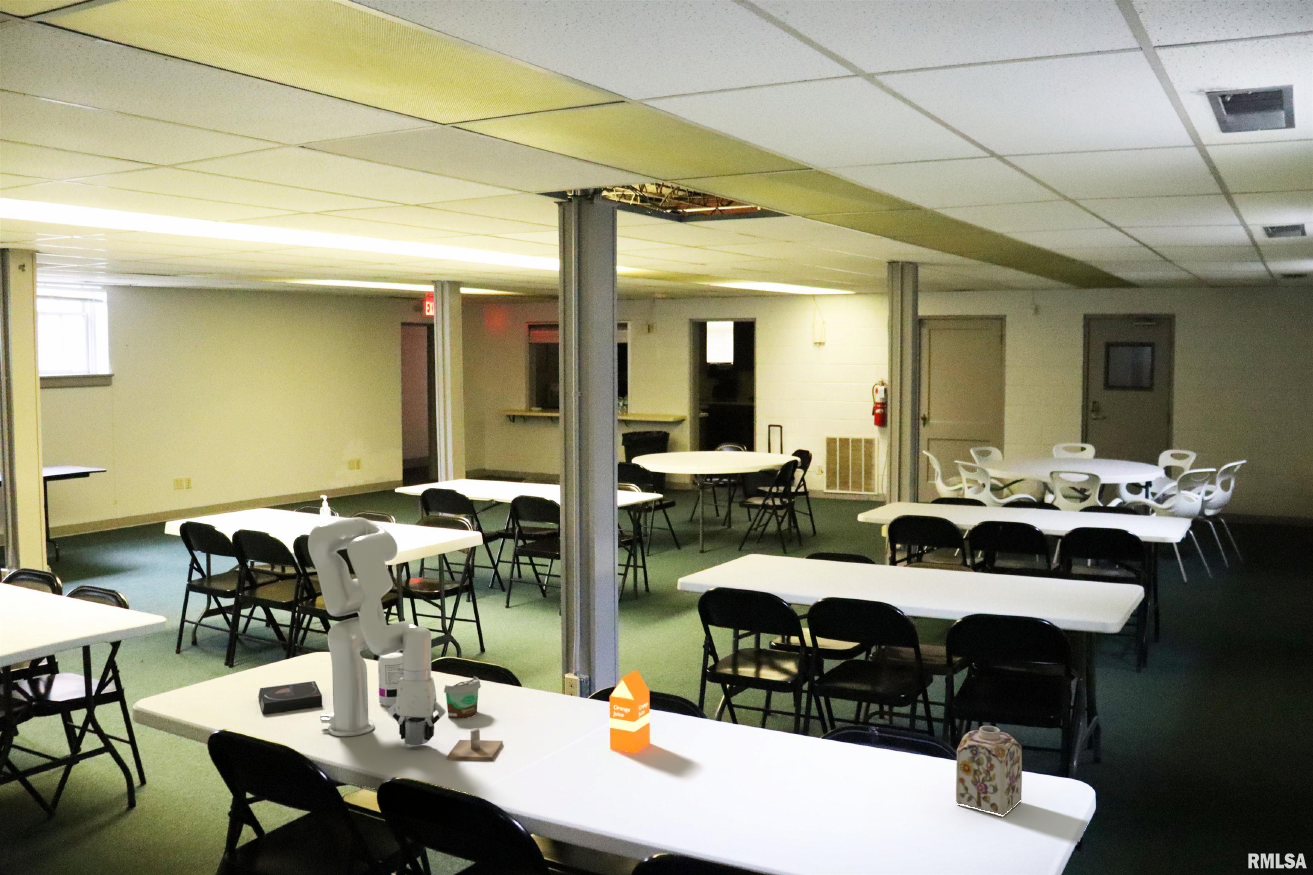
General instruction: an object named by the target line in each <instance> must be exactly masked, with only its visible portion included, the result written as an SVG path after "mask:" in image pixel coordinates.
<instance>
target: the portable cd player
mask: <svg viewBox="0 0 1313 875" xmlns="http://www.w3.org/2000/svg"><path fill="white" fill-rule="evenodd" d="M257 698H258V702H259V704H260V708H261V711H262V714H263V715H265V716H267V715H272V714H282V713H287V712H288V713H289V712H295V711H303V710H309V709H315V708H316V709H317V708H323V695H322V693H321V690H320V689H319V687H318V685H317V682H316V680H314V681H305V682H298V683H289V684H281V685H273V686H267V687H260V688H259V692H258V696H257Z"/></svg>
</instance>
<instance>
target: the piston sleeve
mask: <svg viewBox="0 0 1313 875" xmlns="http://www.w3.org/2000/svg"><path fill="white" fill-rule="evenodd" d="M427 726H428V723H427V720H426V718H418V717H406V718H405V720H404V739H403V742H404V744H405V745H409V746H420V745H421V746H422V745H425V744H427V743H428V742H429V741H427V740H426V727H427Z"/></svg>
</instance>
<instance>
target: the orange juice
mask: <svg viewBox="0 0 1313 875" xmlns="http://www.w3.org/2000/svg"><path fill="white" fill-rule="evenodd" d="M650 693H651V692H650V689H649V688H648V686H647V685H646V683H645V681H644V679H643V677H642V676H641V674H640V673H639V670H637V669H635V670H633V671H631V673H629V674H625V675H624V676H622V677H621V679H620V681H619V682H618V684H617V685H616V686H615V687H614V690H613V692H611V694H610V695H609V749H610V750H612V749H614V750H613V751H617V750H620V751H619V752H623V751H627V752H626V753H628V752H631V753H630V754H634V753H635V754H636V753H638V752H640V751H641V750H642V749H644V748H646V747H647V746H648V745H650V744H651V728H650V724H651V723H650V722H651V712H650V711H651V710H650V708H651V707H650V706H651V705H650ZM646 745H647V746H646ZM640 749H641V750H640ZM637 751H638V752H637Z"/></svg>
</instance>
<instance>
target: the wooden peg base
mask: <svg viewBox="0 0 1313 875" xmlns="http://www.w3.org/2000/svg"><path fill="white" fill-rule="evenodd" d="M480 731H481V730H480V728H471V729H470V739H459V740H458V741H457V743H456V744H455V745H454V747H453V748H452V749H451V751H449V753H448V755H447V756H446V759H447V760H448V761H449V760H450V761H451V760H452V761H479V762H480V761H481V762H482V761H483V762H486V761H487V762H488V761H491V762H493V760H494V759H495V757H496V756H497V754H498V753H499V751H500V749H501V748H502V746H503V743H504V742H503V740H483V739H482V740H481V738H480V736H481V735H480V734H481V733H480Z"/></svg>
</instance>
